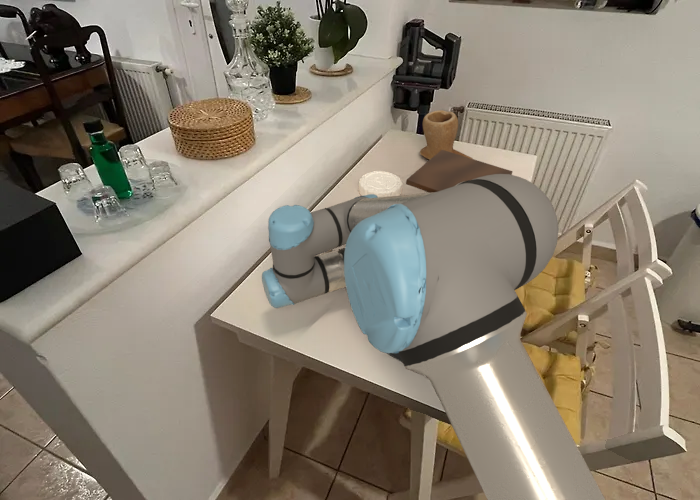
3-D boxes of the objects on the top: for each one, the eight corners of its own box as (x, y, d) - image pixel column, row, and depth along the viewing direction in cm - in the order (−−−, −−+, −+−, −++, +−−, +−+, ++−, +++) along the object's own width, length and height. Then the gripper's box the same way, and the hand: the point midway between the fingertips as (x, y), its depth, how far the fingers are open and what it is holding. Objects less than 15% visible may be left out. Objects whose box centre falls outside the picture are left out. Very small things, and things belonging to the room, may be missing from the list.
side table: (497, 223, 109) (512, 171, 99) (468, 261, 97) (483, 206, 88) (433, 199, 117) (441, 149, 107) (400, 232, 105) (406, 179, 95)
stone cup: (410, 157, 135) (415, 110, 125) (436, 146, 141) (443, 101, 131) (446, 177, 126) (454, 128, 116) (472, 165, 131) (483, 118, 122)
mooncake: (409, 188, 121) (410, 177, 118) (388, 208, 113) (389, 196, 111) (372, 175, 126) (373, 164, 123) (350, 194, 118) (350, 182, 116)
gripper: (319, 245, 95) (401, 222, 102) (370, 325, 78) (465, 291, 85) (318, 218, 90) (404, 196, 97) (372, 297, 73) (472, 263, 80)
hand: (433, 240), depth 91 cm, fingers open, 13 cm apart
